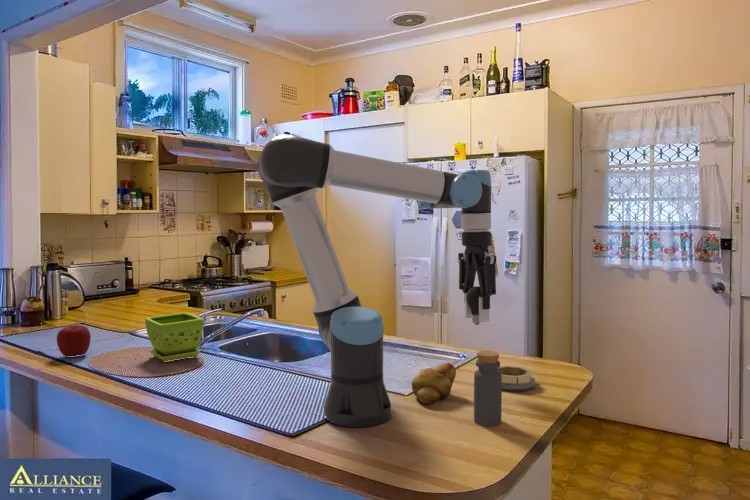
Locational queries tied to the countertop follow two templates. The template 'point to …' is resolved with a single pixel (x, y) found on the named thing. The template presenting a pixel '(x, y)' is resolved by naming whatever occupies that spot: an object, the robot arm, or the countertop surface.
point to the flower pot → (174, 335)
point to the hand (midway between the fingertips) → (476, 319)
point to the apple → (73, 340)
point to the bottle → (487, 389)
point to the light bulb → (474, 303)
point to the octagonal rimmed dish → (516, 379)
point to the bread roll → (434, 383)
